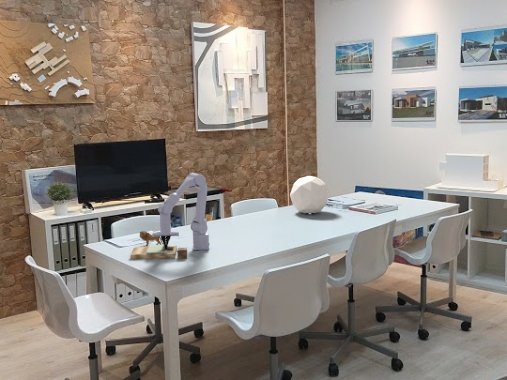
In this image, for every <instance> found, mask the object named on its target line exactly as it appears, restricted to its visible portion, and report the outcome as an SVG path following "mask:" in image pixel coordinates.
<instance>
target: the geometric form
mask: <svg viewBox="0 0 507 380" xmlns="http://www.w3.org/2000/svg"><path fill="white" fill-rule="evenodd" d="M289 197H290V199H291V203H292V206H293V208H295V209H296V210H297V211H298V212H299V213H303V214H306V213H314V214H316V213H321V211H322V210H323V209H324V208H325V207H326V205H327V204H328V200H329V197H330V193H329V189H328V187H327V184H326V182H325V181H323V180H322V179H320V178H319V177H317V176H314V175H313V176H312V175H306V176H303V177H300V178H298V179H297V180H296V181H295V182H294V183H293V185H292V188H291V191H290V194H289Z"/></svg>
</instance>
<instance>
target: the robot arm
mask: <svg viewBox="0 0 507 380" xmlns="http://www.w3.org/2000/svg"><path fill="white" fill-rule="evenodd" d="M206 179H207V178H206V177H205V176H204V175H203V174H201V173H195V172H190V173H189V174H188V175H187V176H186V177H185V179H184V181H183V182H182V184H181V185H179V187H178V188H177V190H176V191H175V192H173V193H170V194H168V197H167V198H166V199H165V200H164V201H163V202H162V203H161V204H159V205H158V208H157V212H159V224H160V226H159V227H160V232H159V231H158V232H152V233H151V235H152V237H156V236H160V237H161V240H162V243H163V244H164V247H165V249H167V247H168V246H169V242H170V240H171V237H179V235H180V232H179V231H172V230H171V229H172V228H171V225H172V224H171V222H172V221H171V213H173V208H174V207H175V206H176V204H178V202H179V201H180V199H181V196H182V195H183V194H184V193H185V192H186V191H187V190H188V189H189V188H191V187H195V188H196V189H197V195H196V196H197V197H196V204H195V205H196V206H195V214H194V217H193V218H192V222H191V223H190V229H191V232H192V249H191V250H192V251H197V250H198V251H203V250H204V251H206V250H210V239H209V238H210V235H209V232H208V233H207V231H208V228H209V227H208V222H207V219H206V218H205V217H206V205H207V200H208V199H207V197H208V184H207V181H206ZM161 240H160V241H161ZM163 244H162V245H163Z"/></svg>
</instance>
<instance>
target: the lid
mask: <svg viewBox="0 0 507 380" xmlns="http://www.w3.org/2000/svg"><path fill="white" fill-rule="evenodd" d="M148 246H149V247H148V250H147V252H146V254H154V253H163V252H164V248H165V247H164V244H161V245H160V244H158V245H156V244H149V245H148Z"/></svg>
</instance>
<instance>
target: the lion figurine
mask: <svg viewBox="0 0 507 380" xmlns="http://www.w3.org/2000/svg"><path fill="white" fill-rule="evenodd" d="M139 237H140V239H141V240H143V241H144V242H146V244H145V247H147V246H149V245H150V241H152V242H154V241H156V242H157V243H156V244H155V245H163V241H162V240H161V236H156V237H152V233H150V232H148V231H145V230H141V231H140V232H139Z"/></svg>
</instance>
